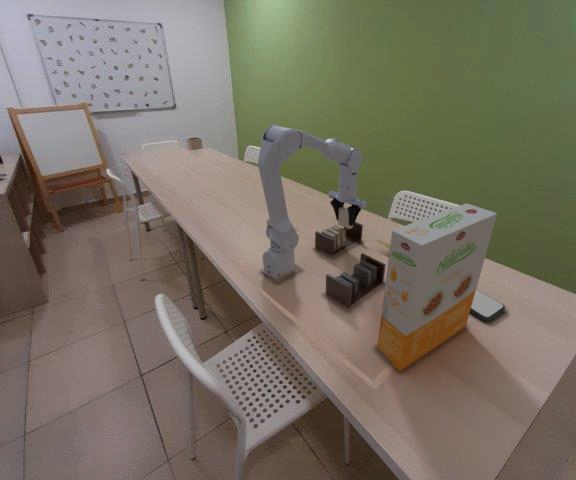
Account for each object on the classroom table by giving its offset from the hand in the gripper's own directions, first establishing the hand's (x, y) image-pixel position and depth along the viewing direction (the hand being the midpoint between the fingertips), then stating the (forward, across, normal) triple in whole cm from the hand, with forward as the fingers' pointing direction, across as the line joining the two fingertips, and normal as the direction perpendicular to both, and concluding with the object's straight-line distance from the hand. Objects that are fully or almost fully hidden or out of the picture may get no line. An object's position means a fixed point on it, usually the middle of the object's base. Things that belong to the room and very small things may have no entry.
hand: (345, 222), depth 102 cm
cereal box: (+10, -38, +18) cm, 43 cm away
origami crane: (+10, -17, -8) cm, 21 cm away
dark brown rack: (+10, +2, +1) cm, 10 cm away
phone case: (+10, -39, -3) cm, 40 cm away
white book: (+2, 0, 0) cm, 2 cm away
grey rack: (+10, -17, +16) cm, 25 cm away
